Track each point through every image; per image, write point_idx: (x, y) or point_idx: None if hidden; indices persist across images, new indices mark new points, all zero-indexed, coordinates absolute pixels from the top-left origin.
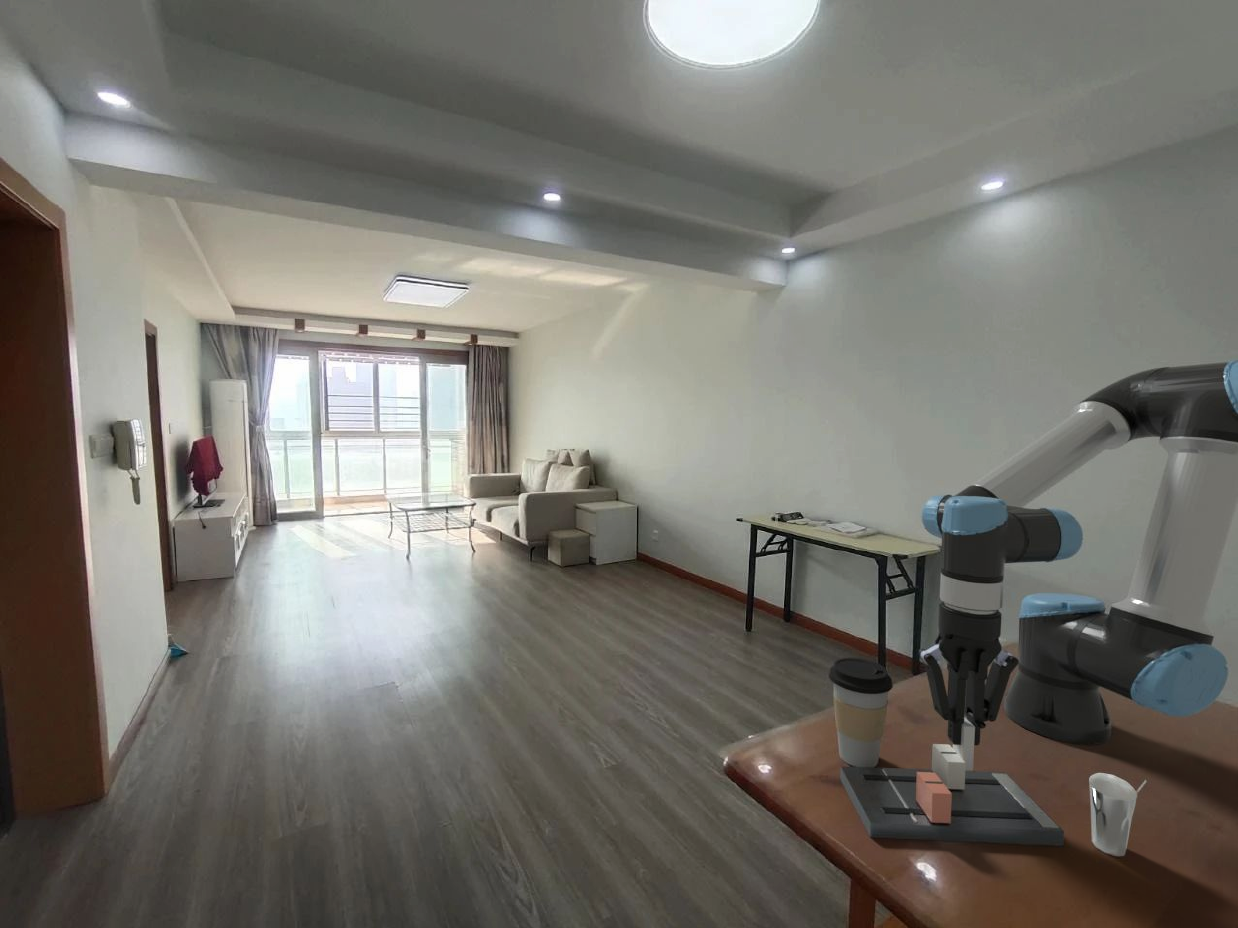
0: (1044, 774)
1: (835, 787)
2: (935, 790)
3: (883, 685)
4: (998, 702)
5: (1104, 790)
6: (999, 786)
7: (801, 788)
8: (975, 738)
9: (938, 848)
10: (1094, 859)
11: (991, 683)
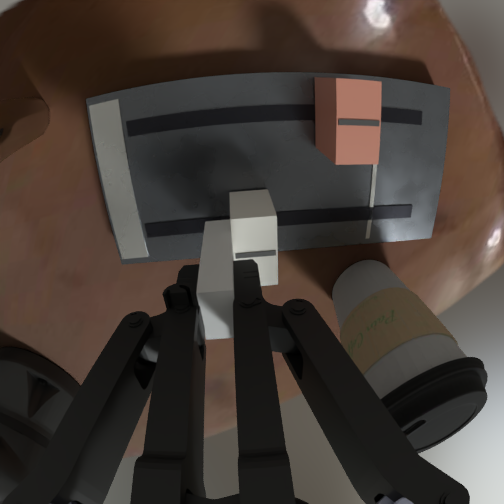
0: (62, 286)
1: None
2: (369, 91)
3: (417, 394)
4: (102, 365)
5: None
6: (148, 217)
7: (476, 197)
8: (190, 276)
9: (337, 54)
10: (66, 77)
11: (112, 437)
